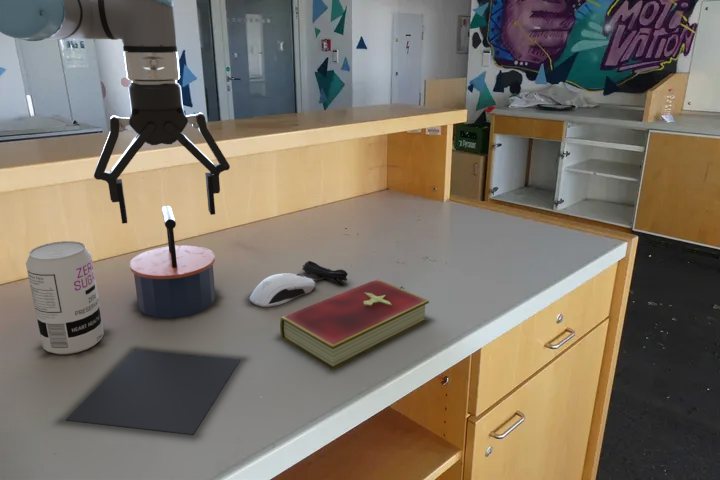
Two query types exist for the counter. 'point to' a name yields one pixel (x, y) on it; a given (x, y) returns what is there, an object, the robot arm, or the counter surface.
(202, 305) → the lunch tin
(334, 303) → the hardcover book
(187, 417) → the mat
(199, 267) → the lid
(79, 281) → the supplement can
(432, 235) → the counter surface
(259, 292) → the computer mouse
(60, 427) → the counter surface
